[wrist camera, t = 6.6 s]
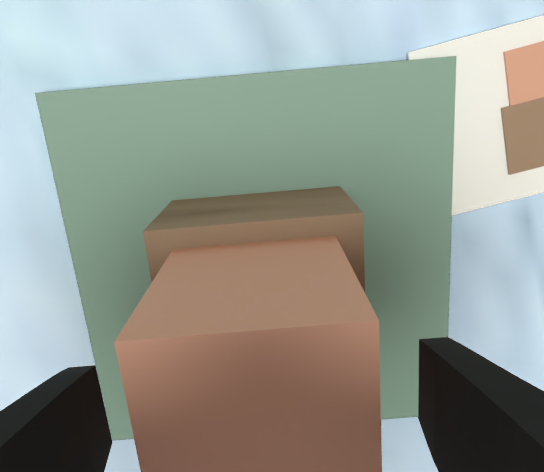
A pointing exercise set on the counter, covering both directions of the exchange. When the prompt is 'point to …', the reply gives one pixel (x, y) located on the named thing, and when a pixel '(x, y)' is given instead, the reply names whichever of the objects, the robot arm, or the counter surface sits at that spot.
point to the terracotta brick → (254, 362)
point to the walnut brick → (258, 223)
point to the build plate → (264, 187)
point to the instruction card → (496, 113)
